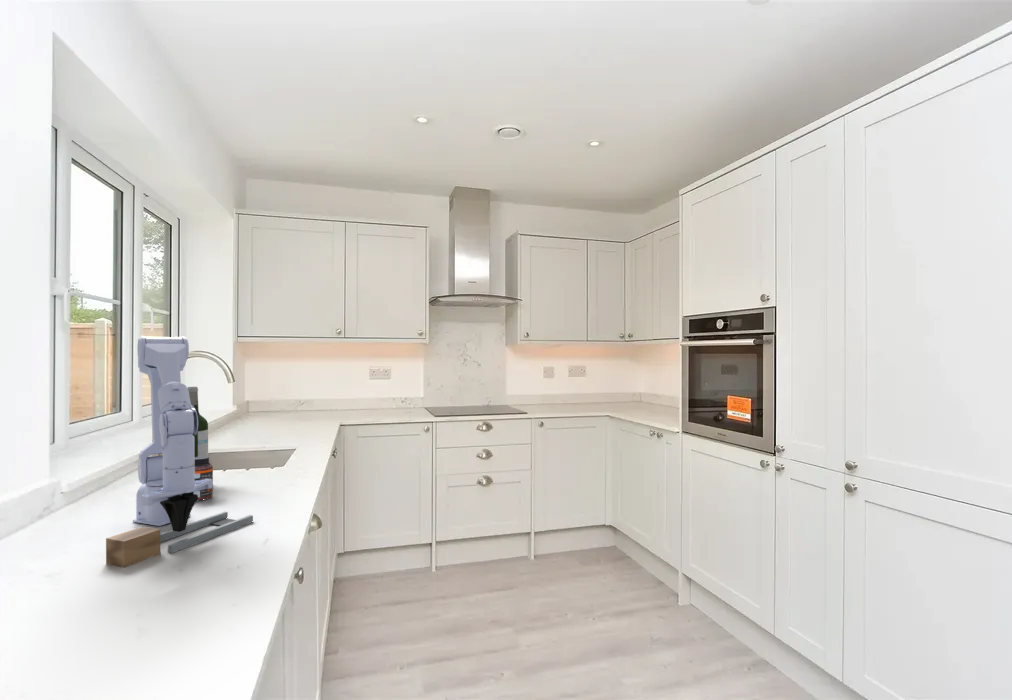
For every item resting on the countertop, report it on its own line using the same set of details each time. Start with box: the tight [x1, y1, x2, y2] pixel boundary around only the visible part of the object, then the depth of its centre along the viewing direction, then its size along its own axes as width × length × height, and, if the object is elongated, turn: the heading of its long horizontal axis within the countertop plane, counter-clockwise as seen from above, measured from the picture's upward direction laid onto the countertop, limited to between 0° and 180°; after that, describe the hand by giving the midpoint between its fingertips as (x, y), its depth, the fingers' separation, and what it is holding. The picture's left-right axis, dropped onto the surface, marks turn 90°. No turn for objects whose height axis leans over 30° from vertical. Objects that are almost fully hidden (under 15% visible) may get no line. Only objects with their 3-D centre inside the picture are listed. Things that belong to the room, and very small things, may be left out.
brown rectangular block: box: [105, 526, 161, 568], centre depth 100 cm, size 5×7×5 cm
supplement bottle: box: [193, 456, 214, 501], centre depth 141 cm, size 6×6×11 cm
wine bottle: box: [187, 386, 209, 457], centre depth 153 cm, size 8×8×30 cm
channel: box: [160, 511, 254, 554], centre depth 114 cm, size 9×20×2 cm, turn 160°
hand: (179, 530), depth 109 cm, fingers closed
